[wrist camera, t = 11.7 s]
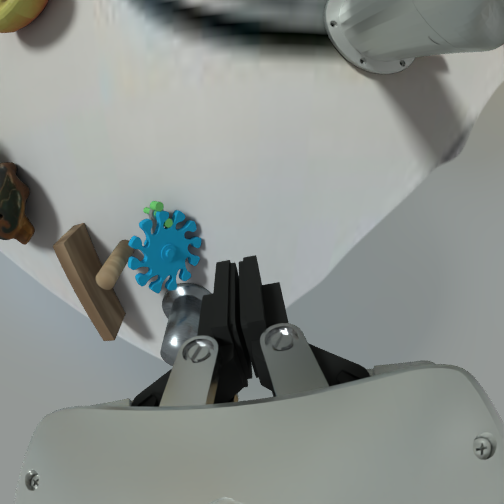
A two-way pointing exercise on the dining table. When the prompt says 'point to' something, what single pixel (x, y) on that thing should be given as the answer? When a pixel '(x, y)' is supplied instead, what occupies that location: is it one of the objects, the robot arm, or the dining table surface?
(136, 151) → the dining table surface
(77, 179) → the dining table surface
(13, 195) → the decorative turtle
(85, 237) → the brown wooden plank
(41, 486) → the robot arm
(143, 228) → the gear
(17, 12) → the apple
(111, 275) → the dowel pin
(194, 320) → the post
